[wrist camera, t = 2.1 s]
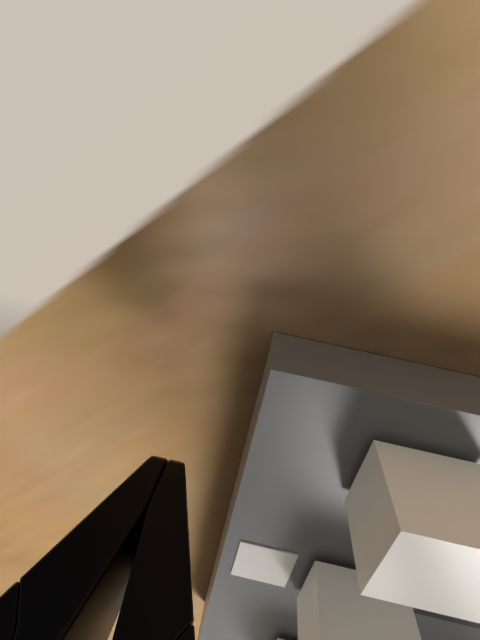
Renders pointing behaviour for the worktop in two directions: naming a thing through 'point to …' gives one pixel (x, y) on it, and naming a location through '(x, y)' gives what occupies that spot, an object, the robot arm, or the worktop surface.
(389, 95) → the worktop surface
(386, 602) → the tab
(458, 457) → the switch panel
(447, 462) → the tab
